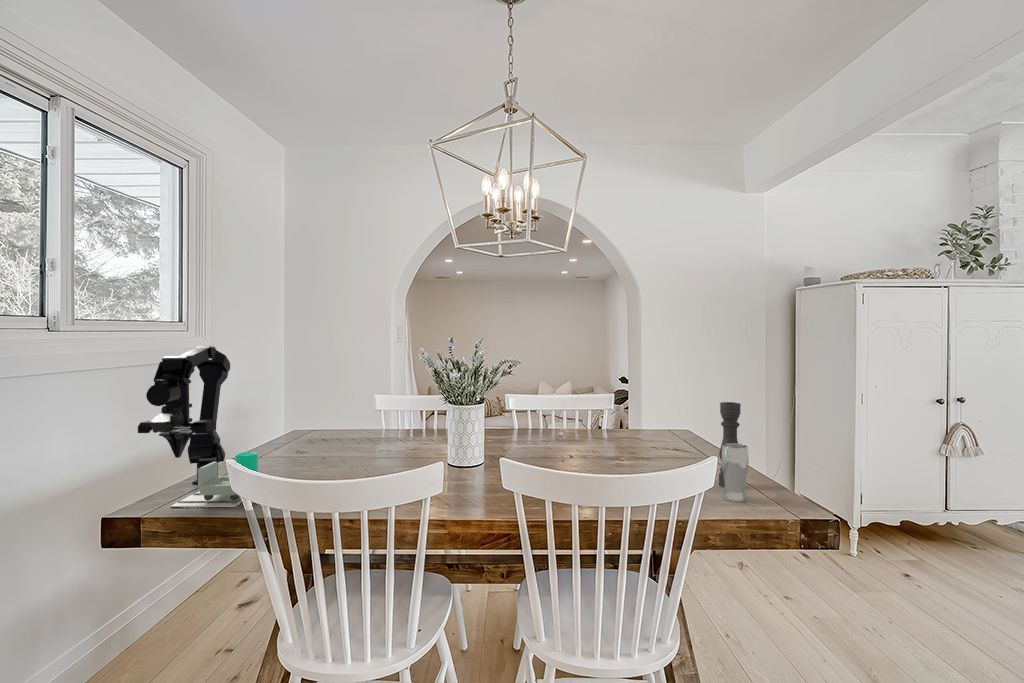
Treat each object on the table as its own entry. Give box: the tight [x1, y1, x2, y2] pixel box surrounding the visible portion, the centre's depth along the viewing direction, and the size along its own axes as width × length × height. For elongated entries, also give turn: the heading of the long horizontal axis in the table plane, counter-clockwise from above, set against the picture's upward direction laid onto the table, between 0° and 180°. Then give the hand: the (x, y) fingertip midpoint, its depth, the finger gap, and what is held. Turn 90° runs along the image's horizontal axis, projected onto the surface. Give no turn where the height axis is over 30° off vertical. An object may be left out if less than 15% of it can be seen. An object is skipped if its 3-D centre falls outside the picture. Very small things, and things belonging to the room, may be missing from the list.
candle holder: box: [718, 401, 741, 489], centre depth 165 cm, size 6×6×25 cm
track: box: [169, 491, 242, 509], centre depth 151 cm, size 13×17×1 cm
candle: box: [235, 448, 259, 473], centre depth 162 cm, size 6×6×12 cm
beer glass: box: [721, 443, 749, 503], centre depth 152 cm, size 7×7×15 cm
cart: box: [197, 462, 239, 501], centre depth 151 cm, size 10×11×9 cm
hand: (178, 457), depth 151 cm, fingers closed
